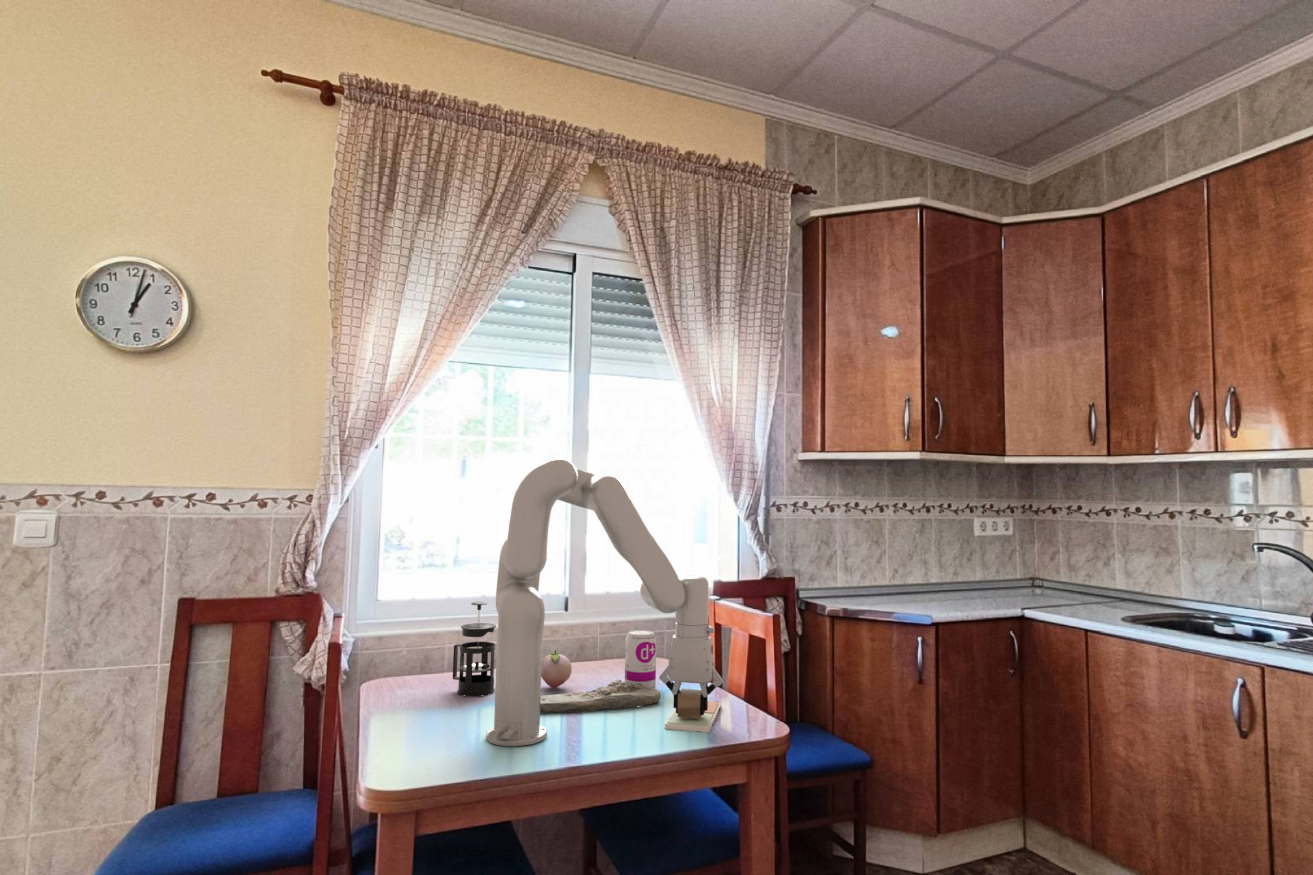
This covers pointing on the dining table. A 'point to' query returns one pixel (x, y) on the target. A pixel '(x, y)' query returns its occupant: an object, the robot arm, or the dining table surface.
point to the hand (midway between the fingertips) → (690, 711)
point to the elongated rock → (600, 698)
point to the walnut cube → (689, 703)
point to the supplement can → (640, 658)
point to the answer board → (694, 720)
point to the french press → (476, 683)
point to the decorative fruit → (555, 669)
